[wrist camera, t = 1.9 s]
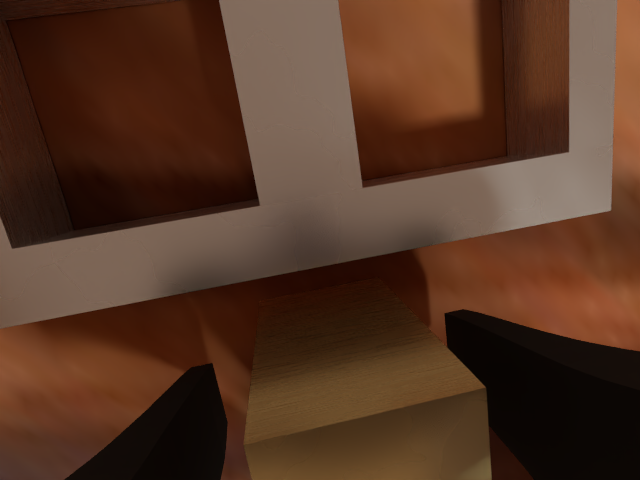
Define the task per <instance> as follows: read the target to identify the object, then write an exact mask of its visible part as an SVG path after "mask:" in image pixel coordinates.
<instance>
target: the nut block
mask: <svg viewBox="0 0 640 480" xmlns="http://www.w3.org/2000/svg"><path fill="white" fill-rule="evenodd" d="M244 449H245V453H246V457H247V461H248V465H249V469H250V473H251V477H252V480H492V475H491V459H490V442H489V425H488V409H487V392H486V387H485V386H484V385H483V384H482V383H481V382H480V381H479V380H478V379H477V378H476V377H475V376H474V374H473V373H472V372H471V371H470V370H469V369H468V368H467V367H466V366H465V365H464V364H463V363H462V362H461V361H460V360H459V359H458V358H457V357H456V356H455V355H454V354H453V353H452V352H451V351H450V350H449V349H448V348H447V347H446V346H445V345H444V344H443V343H442V342H441V341H440V340H439V339H438V338H437V336H436V335H435V334H434V333H433V332H432V331H431V330H430V329H429V328H428V327H427V326H426V325H425V324H424V323H423V322H422V321H421V320H420V319H419V318H418V317H417V316H416V315H415V314H414V313H413V312H412V311H411V310H410V309H409V308H408V307H407V306H406V305H405V304H404V303H403V302H402V301H401V300H400V299H399V297H398V296H397V295H396V294H395V293H394V292H393V291H392V290H391V289H390V288H389V287H388V286H387V285H386V284H385V283H384V282H383V281H382V280H381V279H380V278H379V277H377V278H372V279H367V280H362V281H357V282H352V283H347V284H342V285H337V286H332V287H327V288H322V289H317V290H312V291H307V292H302V293H297V294H292V295H287V296H282V297H277V298H272V299H267V300H262V301H260V305H259V314H258V323H257V331H256V340H255V349H254V358H253V367H252V375H251V384H250V393H249V402H248V411H247V419H246V428H245V437H244Z"/></svg>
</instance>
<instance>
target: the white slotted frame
mask: <svg viewBox="0 0 640 480" xmlns="http://www.w3.org/2000/svg"><path fill="white" fill-rule="evenodd" d="M170 1H179V0H0V329H1V328H6V327H11V326H17V325H22V324H27V323H32V322H37V321H42V320H48V319H53V318H58V317H63V316H68V315H73V314H79V313H84V312H89V311H94V310H99V309H104V308H110V307H115V306H120V305H125V304H130V303H135V302H141V301H146V300H151V299H156V298H161V297H166V296H172V295H177V294H182V293H187V292H192V291H197V290H203V289H208V288H213V287H218V286H223V285H228V284H234V283H239V282H244V281H249V280H254V279H259V278H265V277H270V276H275V275H280V274H285V273H290V272H296V271H301V270H306V269H311V268H316V267H321V266H327V265H332V264H337V263H342V262H347V261H352V260H358V259H363V258H368V257H373V256H378V255H384V254H389V253H394V252H399V251H404V250H409V249H415V248H420V247H425V246H430V245H435V244H440V243H446V242H451V241H456V240H461V239H466V238H471V237H477V236H482V235H487V234H492V233H497V232H502V231H508V230H513V229H518V228H523V227H528V226H533V225H539V224H544V223H549V222H554V221H559V220H564V219H570V218H575V217H580V216H585V215H590V214H595V213H601V212H606V211H611V191H612V157H613V122H614V88H615V54H616V19H617V0H502V25H503V52H504V79H505V106H506V132H507V156H504V157H499V158H493V159H487V160H481V161H475V162H469V163H464V164H458V165H452V166H446V167H440V168H434V169H429V170H423V171H417V172H411V173H405V174H399V175H394V176H388V177H382V178H376V179H370V180H364V181H362V179H361V172H360V164H359V156H358V149H357V141H356V133H355V126H354V118H353V111H352V103H351V95H350V88H349V80H348V73H347V65H346V57H345V50H344V42H343V35H342V27H341V19H340V12H339V4H338V0H219V3H220V8H221V13H222V18H223V23H224V28H225V33H226V38H227V43H228V48H229V53H230V58H231V63H232V68H233V73H234V78H235V83H236V88H237V93H238V98H239V103H240V108H241V113H242V118H243V123H244V128H245V133H246V138H247V143H248V148H249V153H250V158H251V163H252V168H253V173H254V178H255V183H256V188H257V193H258V198H259V199H254V200H248V201H242V202H236V203H230V204H225V205H219V206H213V207H207V208H201V209H195V210H190V211H184V212H178V213H172V214H166V215H160V216H155V217H149V218H143V219H137V220H131V221H126V222H120V223H114V224H108V225H102V226H96V227H91V228H85V229H79V230H74V228H73V225H72V222H71V219H70V216H69V212H68V209H67V206H66V203H65V200H64V197H63V194H62V191H61V188H60V185H59V182H58V179H57V176H56V173H55V170H54V167H53V163H52V160H51V157H50V154H49V151H48V148H47V145H46V142H45V139H44V136H43V133H42V130H41V127H40V124H39V121H38V117H37V114H36V111H35V108H34V105H33V102H32V99H31V96H30V93H29V90H28V87H27V84H26V81H25V78H24V75H23V72H22V68H21V65H20V62H19V59H18V56H17V53H16V50H15V47H14V44H13V41H12V38H11V35H10V32H9V29H8V26H7V22H6V20H13V19H22V18H31V17H39V16H48V15H57V14H65V13H74V12H83V11H92V10H100V9H109V8H118V7H126V6H135V5H144V4H153V3H161V2H170Z"/></svg>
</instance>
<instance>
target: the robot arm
mask: <svg viewBox="0 0 640 480" xmlns="http://www.w3.org/2000/svg"><path fill="white" fill-rule="evenodd" d="M445 325H446V336H447V348H448V349H449V350H450V351H451V352H452V353H453V354H454V355H455V356H456V357H457V358H458V359H459V360H460V361H461V362H462V363H463V364H464V365H465V366H466V367H467V368H468V369H469V370H470V371H471V372H472V373H473V374H474V376H475V377H476V378H477V379H478V380H479V381H480V382H481V383H482V384H483V385H484V386H485V387H486V392H487V409H488V425H489V426H490V427H491V428H492V429H493V431H494V432H495V433H496V434H497V435H498V436H499V438H500V439H501V440H502V441H503V442H504V444H505V445H506V446H507V447H508V448H509V449H510V451H511V452H512V453H513V454H514V455H515V457H516V458H517V459H518V460H519V461H520V462H521V464H522V465H523V466H524V467H525V469H526V470H527V471H528V472H529V474H530V475H531V476H532V477H533V479H534V480H640V351H633V350H627V349H621V348H616V347H610V346H605V345H600V344H595V343H589V342H585V341H580V340H576V339H572V338H568V337H564V336H560V335H556V334H552V333H548V332H544V331H540V330H537V329H533V328H530V327H526V326H523V325H519V324H516V323H512V322H509V321H506V320H502V319H499V318H496V317H492V316H489V315H485V314H482V313H478V312H474V311H469V310H464V309H462V310H458V311H453V312H448V313H445ZM227 424H228V422H227V418H226V414H225V410H224V406H223V403H222V399H221V395H220V391H219V387H218V383H217V379H216V375H215V372H214V368H213V364H212V363H210V364H205V365H201V366H196V367H191V368H190V369H189V370H188V371H186V372H185V373H184V374H183V375H182V376H181V377H180V378H179V379H178V380H177V381H176V382H175V383H174V384H173V385H172V386H171V387H170V388H169V389H168V390H167V391H166V392H165V393H164V394H163V395H162V396H161V397H159V398H158V399H157V400H156V401H155V402H154V403H153V404H152V405H151V406H150V407H149V408H148V409H147V410H146V411H145V412H144V413H143V414H142V415H141V416H140V417H139V418H137V419H136V420H135V421H134V422H133V423H132V424H131V425H130V426H129V427H128V428H126V429H125V430H124V431H123V432H122V433H121V434H120V435H119V436H118V437H116V438H115V439H114V440H113V441H112V442H111V443H110V444H109V445H107V446H106V447H105V448H104V449H103V450H101V451H100V452H99V453H98V454H97V455H95V456H94V457H93V458H92V459H90V460H89V461H88V462H87V463H85V464H84V465H83V466H81V467H80V468H79V469H78V470H76V471H75V472H74V473H72V474H71V475H70V476H69V477H67V478H66V479H65V480H220V479H221V474H222V469H223V464H224V459H225V450H226V438H227Z"/></svg>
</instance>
